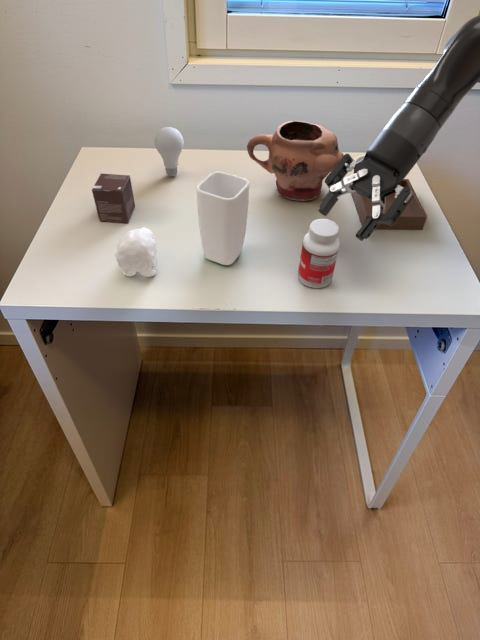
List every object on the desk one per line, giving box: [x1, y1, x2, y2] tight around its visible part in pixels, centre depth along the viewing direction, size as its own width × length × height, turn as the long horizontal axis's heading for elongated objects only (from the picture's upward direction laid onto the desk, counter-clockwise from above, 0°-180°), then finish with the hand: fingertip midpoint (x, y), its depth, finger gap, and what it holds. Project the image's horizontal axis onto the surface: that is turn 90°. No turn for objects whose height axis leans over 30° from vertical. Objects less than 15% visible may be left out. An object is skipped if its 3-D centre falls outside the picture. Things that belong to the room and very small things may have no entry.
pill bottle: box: [297, 218, 341, 289], centre depth 79 cm, size 6×6×11 cm
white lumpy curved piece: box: [114, 226, 157, 278], centre depth 82 cm, size 6×8×12 cm
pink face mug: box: [246, 120, 345, 201], centre depth 98 cm, size 20×12×14 cm, turn 87°
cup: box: [196, 170, 250, 266], centre depth 81 cm, size 7×7×15 cm
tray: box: [350, 178, 428, 231], centre depth 98 cm, size 14×12×3 cm
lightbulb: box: [154, 126, 185, 178], centre depth 101 cm, size 6×6×11 cm
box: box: [91, 173, 136, 224], centre depth 92 cm, size 6×6×7 cm
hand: (339, 226), depth 78 cm, fingers open, 8 cm apart
